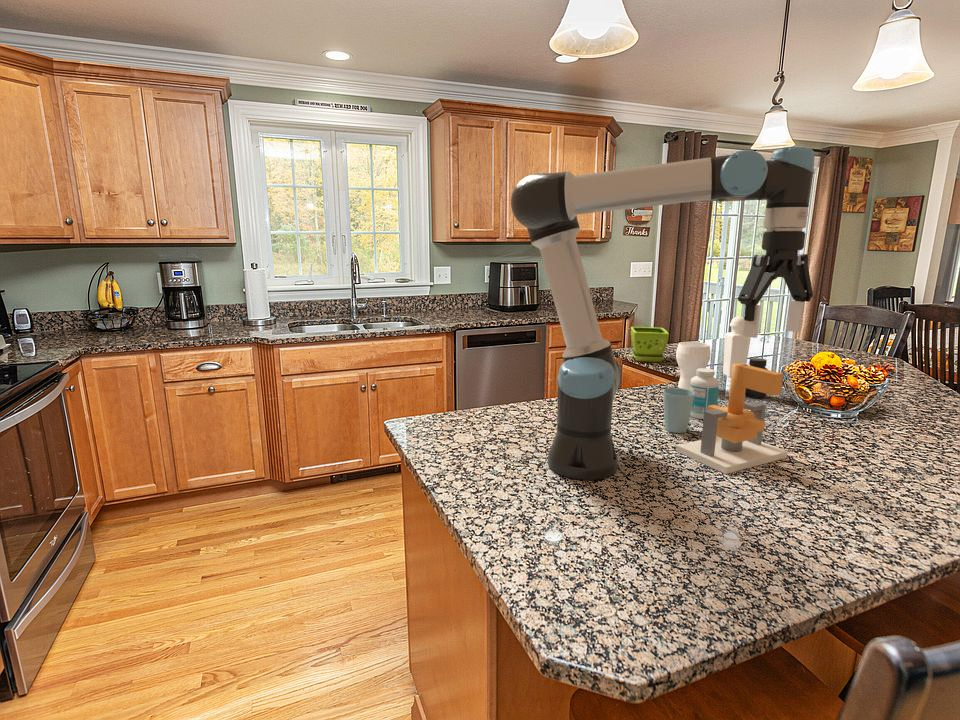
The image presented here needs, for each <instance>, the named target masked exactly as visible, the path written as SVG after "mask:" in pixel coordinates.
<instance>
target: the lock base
mask: <svg viewBox="0 0 960 720" xmlns="http://www.w3.org/2000/svg"><path fill="white" fill-rule="evenodd" d="M766 407H767V404H766V403H762V402H759V401H750V402H744V409H746V410H749V411H751V412H753V413H754V414H755V417H754V418H756V419H759V420H762V421H765V416H766ZM727 414H728V412H726V411H723V410H720V409H713V410H708V411H704V419H702V429H701V430H702V431H701V439H698V440H694V441H690V442H685V443H681V444H677V445H676V450H675V451H676V452H677V453H679V454H682V455H684V456H686V457H688V458H690V459H692V460H694V459H695V460H694V461H696V462H698V463H701V464H703V465H705V466H707V467H709V468H712V469H714V470H715V471H719V472H720V471H721V473H722V472H723V473H722V474H724V473H725V474H724V475H728V474H731V473H734V472H738V471H742V470H746V469H749V468H754V467H757V466H761V465H765V464H768V463H771V462H772V463H773V462H776V461H780V460H782V459H787V458H788V453H789V452H788V451H787V450H784V449H782V448H779V447H777V446H774V445H771V444H769V443H766V442H763V441H762V440H763V432H764V430H763V431H758V432H757V438H756V439H751V440H747V441H743V442H739V443H733V442H730V441H728V440H725V439H723V438H720V437H718V436H716V433H717V423H718V418H722V417H727ZM727 473H728V474H727Z"/></svg>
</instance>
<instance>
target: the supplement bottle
mask: <svg viewBox="0 0 960 720" xmlns="http://www.w3.org/2000/svg"><path fill="white" fill-rule="evenodd" d="M748 365H749V366H753V367H757V368H762V369H766V370H769V369H768V368H767V367H766V366H767V359H766V358H761V357H760V358H758V357H750V358H749V362H748ZM767 395H768V394H766V393H762V392H758V391H755V390H751V389H748V388H746V391H745V397H747V398H751V399H764V398H766V397H767Z"/></svg>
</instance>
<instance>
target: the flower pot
mask: <svg viewBox="0 0 960 720" xmlns="http://www.w3.org/2000/svg"><path fill="white" fill-rule="evenodd" d="M669 337H670V333H669V332H668V331H667V330H666V329H665V328H664V327H654V326H653V327H652V326H631V327H630V340H631V345H632V348H633V350H631V354H632V356H633V358H634V360H635V361H637V362H651V363H653V362H654V363H661V362H662V361H664V360H665V356H664V355H663V354H664V352H665V350H666V348H667V345H668V343H669V342H668V341H669Z"/></svg>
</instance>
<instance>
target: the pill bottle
mask: <svg viewBox="0 0 960 720" xmlns="http://www.w3.org/2000/svg"><path fill="white" fill-rule="evenodd" d="M696 374H697V376H695V377H693V378H692V379H691V382H690V391H693V392H694V393H695V395H694V399H693V404H692V409H691V413H690V417H692V418H694V419H699V420H703V419H704V411H707V408H708V406H710V405H717V406H718V398H719V389H720V381H719V380H718V379H717V378H716V377H714V376H715V374H716V372H715V370H714V369H712V368H707V367H706V368H699V369H697V371H696Z"/></svg>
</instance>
